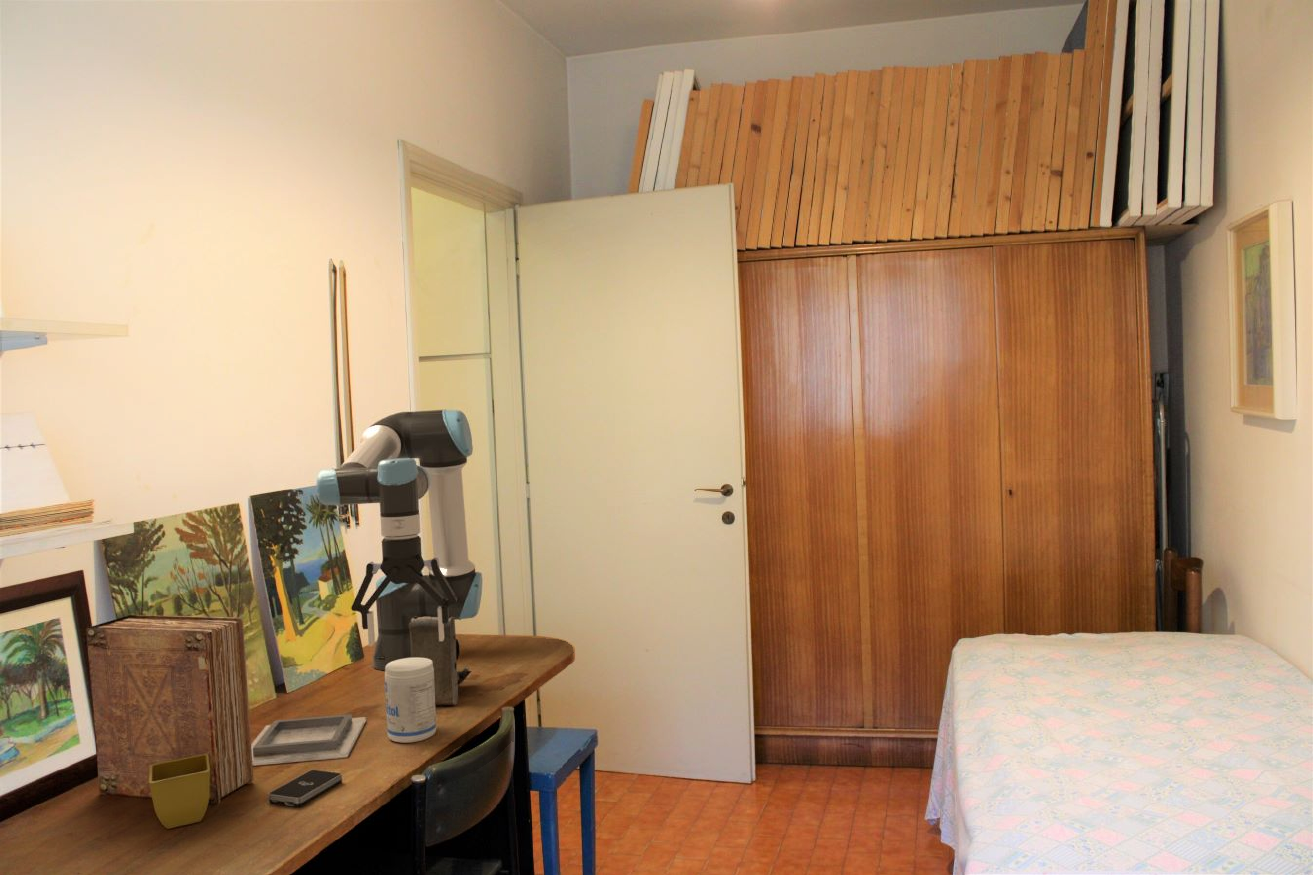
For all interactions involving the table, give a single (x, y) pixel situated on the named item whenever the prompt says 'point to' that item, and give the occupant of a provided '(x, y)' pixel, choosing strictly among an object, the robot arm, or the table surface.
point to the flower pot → (180, 790)
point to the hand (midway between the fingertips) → (407, 642)
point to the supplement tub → (410, 699)
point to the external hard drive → (305, 788)
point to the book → (169, 700)
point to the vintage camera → (438, 656)
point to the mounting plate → (306, 739)
